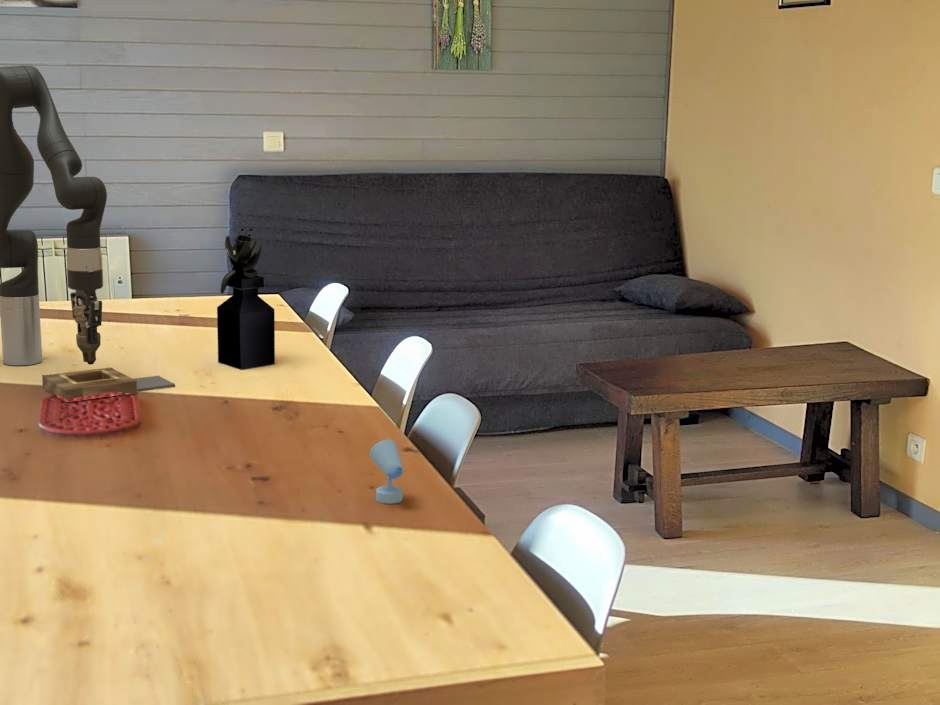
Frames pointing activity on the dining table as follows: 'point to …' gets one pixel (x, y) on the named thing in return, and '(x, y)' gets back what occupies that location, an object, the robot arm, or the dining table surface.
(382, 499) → the spotlight
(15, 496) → the dining table surface
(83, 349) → the tan ridged rounded piece
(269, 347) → the vase
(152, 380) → the mat
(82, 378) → the socket block
